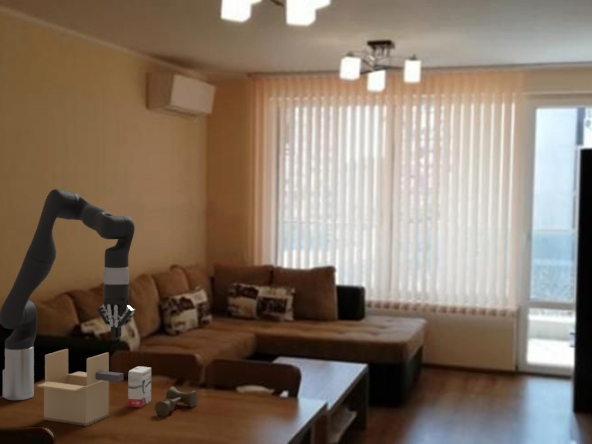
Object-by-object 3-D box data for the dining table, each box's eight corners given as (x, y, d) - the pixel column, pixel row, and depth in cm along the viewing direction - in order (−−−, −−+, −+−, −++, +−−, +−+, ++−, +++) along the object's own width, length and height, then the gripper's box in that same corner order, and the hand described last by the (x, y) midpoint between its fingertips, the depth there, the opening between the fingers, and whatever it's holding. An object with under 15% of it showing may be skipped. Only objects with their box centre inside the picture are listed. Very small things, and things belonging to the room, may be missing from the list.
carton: (34, 423, 221) (34, 357, 221) (75, 406, 239) (75, 346, 238) (77, 430, 215) (77, 362, 215) (116, 412, 233) (116, 350, 232)
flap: (86, 358, 219) (110, 361, 216) (107, 352, 228) (130, 354, 225) (86, 385, 219) (110, 388, 216) (107, 377, 229) (130, 380, 225)
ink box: (141, 408, 239) (141, 372, 238) (127, 407, 240) (127, 371, 239) (151, 401, 247) (151, 366, 247) (138, 400, 248) (138, 365, 248)
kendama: (147, 416, 231) (178, 399, 250) (173, 421, 228) (203, 402, 247) (147, 398, 231) (179, 381, 250) (174, 402, 228) (204, 385, 246)
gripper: (90, 281, 219) (90, 339, 220) (127, 284, 214) (127, 343, 215) (105, 279, 226) (105, 335, 227) (142, 281, 221) (141, 338, 222)
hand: (116, 338), depth 221 cm, fingers closed
